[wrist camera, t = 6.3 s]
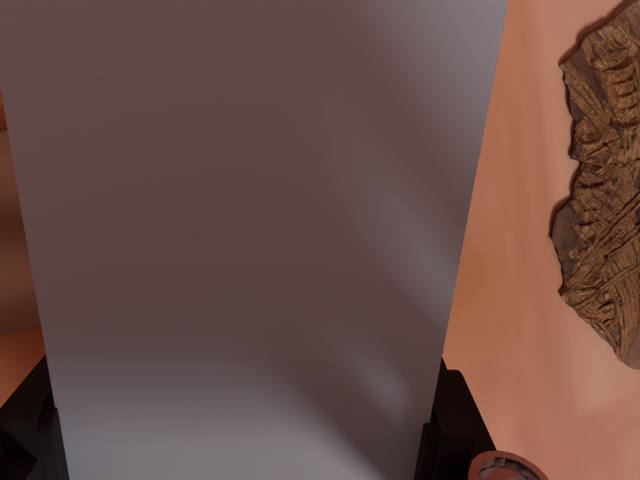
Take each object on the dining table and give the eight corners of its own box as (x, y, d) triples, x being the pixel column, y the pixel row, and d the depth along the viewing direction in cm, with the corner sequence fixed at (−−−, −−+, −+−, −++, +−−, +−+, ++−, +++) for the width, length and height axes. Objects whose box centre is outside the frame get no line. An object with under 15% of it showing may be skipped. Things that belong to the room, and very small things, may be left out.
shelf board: (354, 665, 15) (362, 782, 12) (149, 661, 14) (119, 780, 12) (477, -165, 7) (556, -261, 5) (56, -202, 7) (-71, -320, 5)
